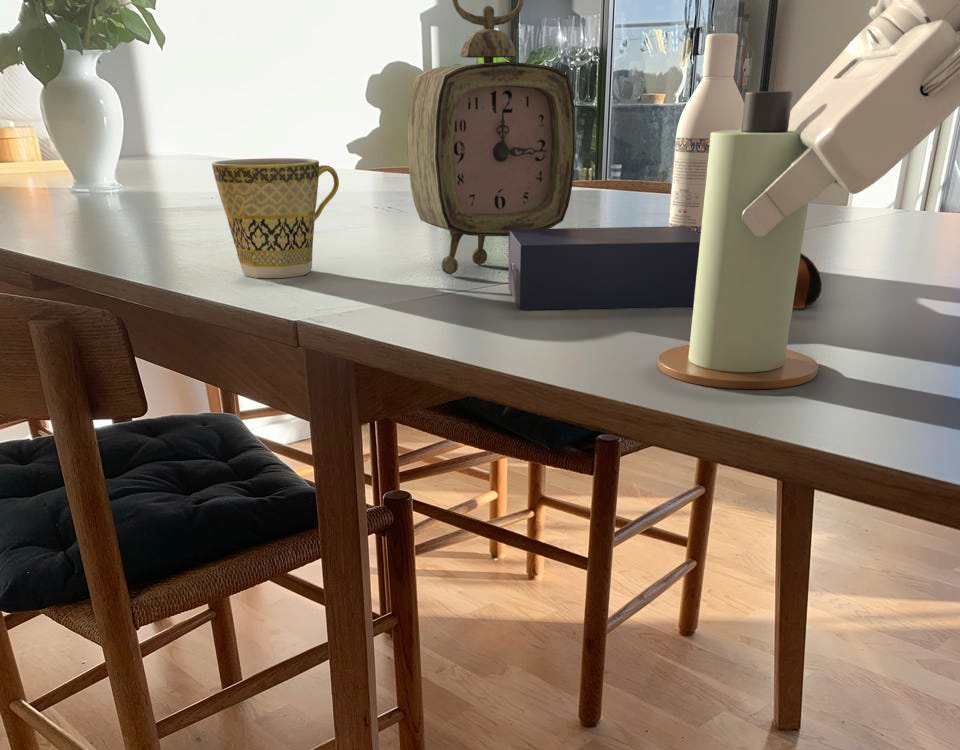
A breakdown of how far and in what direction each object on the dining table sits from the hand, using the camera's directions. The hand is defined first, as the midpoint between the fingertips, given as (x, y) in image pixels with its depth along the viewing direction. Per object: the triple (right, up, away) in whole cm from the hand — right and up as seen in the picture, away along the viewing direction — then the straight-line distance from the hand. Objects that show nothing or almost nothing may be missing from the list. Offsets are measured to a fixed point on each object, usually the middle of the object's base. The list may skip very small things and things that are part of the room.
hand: (743, 219), depth 57 cm
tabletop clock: (-15, +13, +40) cm, 45 cm away
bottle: (+1, -7, +4) cm, 8 cm away
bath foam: (+7, +14, +41) cm, 44 cm away
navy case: (-5, +5, +26) cm, 27 cm away
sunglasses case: (+8, +6, +28) cm, 30 cm away
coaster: (+1, -8, +4) cm, 9 cm away
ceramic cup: (-35, +12, +39) cm, 54 cm away
